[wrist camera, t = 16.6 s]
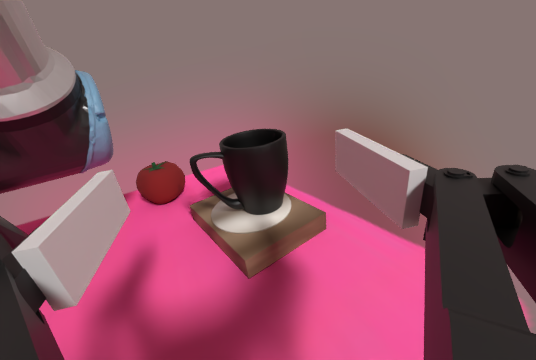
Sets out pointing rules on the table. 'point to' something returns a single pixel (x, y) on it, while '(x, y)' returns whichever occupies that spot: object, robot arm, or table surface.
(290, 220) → the wooden coaster block
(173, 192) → the tomato
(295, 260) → the table surface
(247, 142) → the mug
